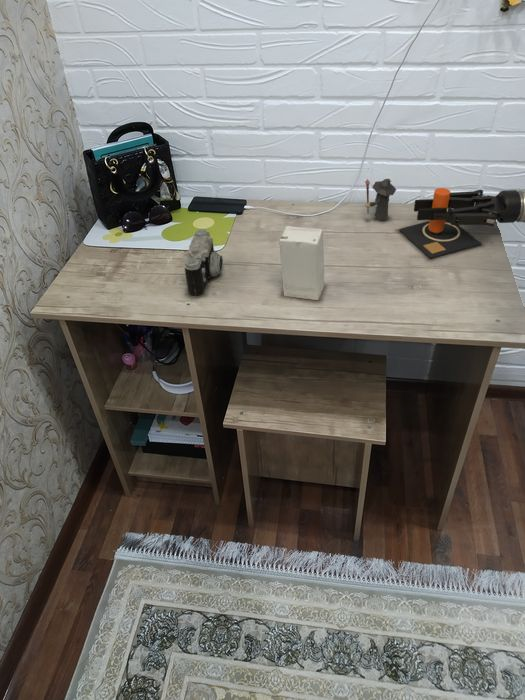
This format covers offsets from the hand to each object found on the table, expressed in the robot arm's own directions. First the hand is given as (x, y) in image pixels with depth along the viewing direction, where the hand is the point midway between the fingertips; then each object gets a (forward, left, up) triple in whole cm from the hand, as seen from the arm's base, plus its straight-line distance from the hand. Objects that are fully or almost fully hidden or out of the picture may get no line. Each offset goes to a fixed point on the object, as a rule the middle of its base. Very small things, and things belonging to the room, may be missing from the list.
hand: (416, 209), depth 136 cm
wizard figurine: (+10, +4, -7) cm, 13 cm away
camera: (+4, +52, -7) cm, 53 cm away
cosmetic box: (-10, +34, -7) cm, 36 cm away
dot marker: (-2, -5, -6) cm, 8 cm away
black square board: (-4, -5, -7) cm, 9 cm away
